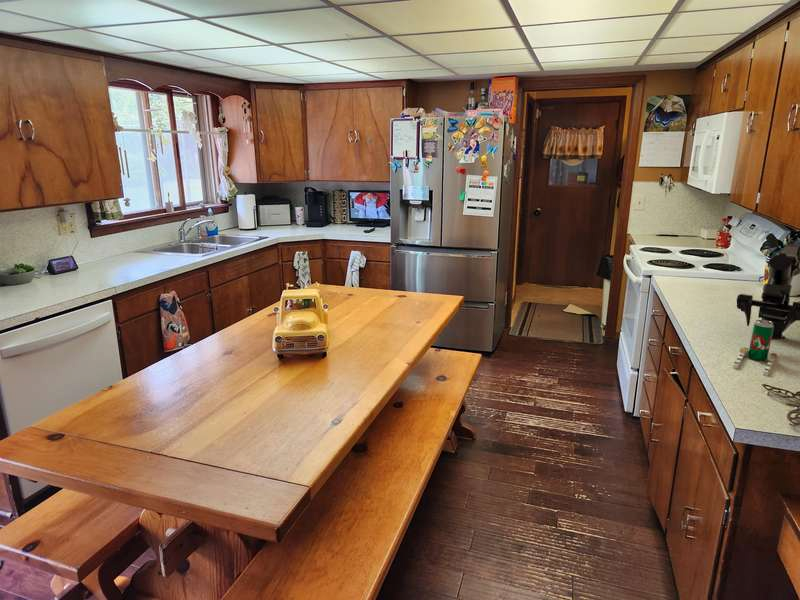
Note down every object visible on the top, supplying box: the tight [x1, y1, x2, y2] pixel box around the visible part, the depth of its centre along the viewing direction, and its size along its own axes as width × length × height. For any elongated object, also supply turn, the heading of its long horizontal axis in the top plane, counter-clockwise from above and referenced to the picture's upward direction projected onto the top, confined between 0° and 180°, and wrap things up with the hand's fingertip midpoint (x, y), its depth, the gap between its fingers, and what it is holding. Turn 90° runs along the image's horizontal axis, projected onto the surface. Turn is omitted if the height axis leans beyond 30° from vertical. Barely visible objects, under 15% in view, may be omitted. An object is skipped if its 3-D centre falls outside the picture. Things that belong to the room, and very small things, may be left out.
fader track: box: [732, 345, 778, 377], centre depth 160 cm, size 20×8×2 cm, turn 139°
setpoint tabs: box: [739, 347, 778, 361], centre depth 163 cm, size 2×10×1 cm, turn 49°
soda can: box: [747, 319, 774, 362], centre depth 162 cm, size 5×5×12 cm
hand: (764, 328), depth 166 cm, fingers open, 9 cm apart
